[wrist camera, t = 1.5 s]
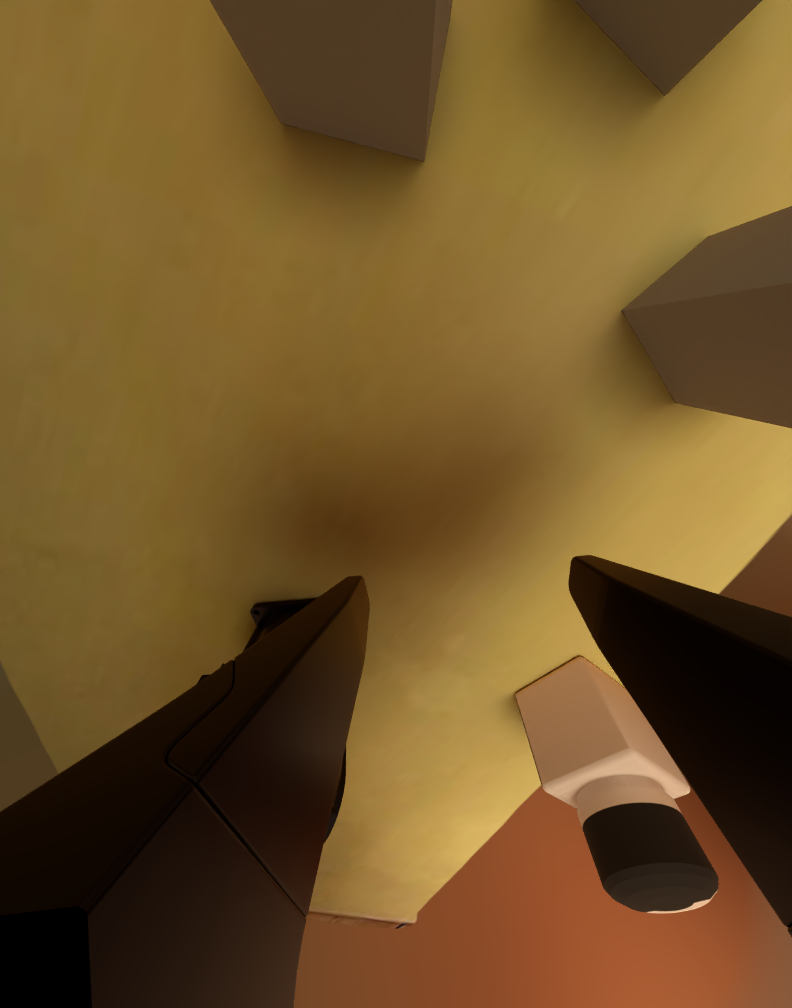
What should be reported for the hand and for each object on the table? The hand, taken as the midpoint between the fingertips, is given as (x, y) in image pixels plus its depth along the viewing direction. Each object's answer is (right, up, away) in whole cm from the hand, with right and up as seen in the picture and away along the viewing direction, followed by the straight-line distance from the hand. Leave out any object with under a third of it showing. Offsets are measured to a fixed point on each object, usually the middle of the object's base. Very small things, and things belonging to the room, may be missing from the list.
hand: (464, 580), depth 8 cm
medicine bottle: (+14, -15, +20) cm, 29 cm away
